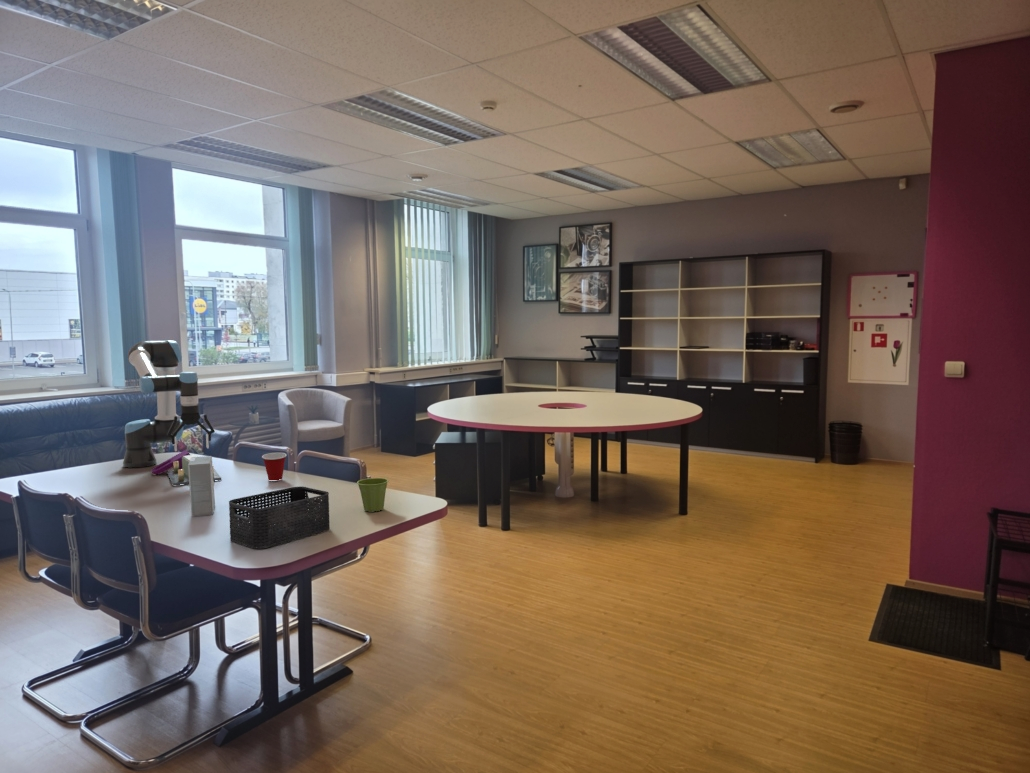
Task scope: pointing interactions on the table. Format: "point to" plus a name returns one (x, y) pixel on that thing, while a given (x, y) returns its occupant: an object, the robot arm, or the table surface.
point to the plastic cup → (274, 465)
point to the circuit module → (186, 463)
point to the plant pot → (373, 493)
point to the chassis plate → (184, 475)
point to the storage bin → (278, 517)
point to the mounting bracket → (170, 463)
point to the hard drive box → (201, 486)
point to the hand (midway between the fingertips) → (191, 449)
